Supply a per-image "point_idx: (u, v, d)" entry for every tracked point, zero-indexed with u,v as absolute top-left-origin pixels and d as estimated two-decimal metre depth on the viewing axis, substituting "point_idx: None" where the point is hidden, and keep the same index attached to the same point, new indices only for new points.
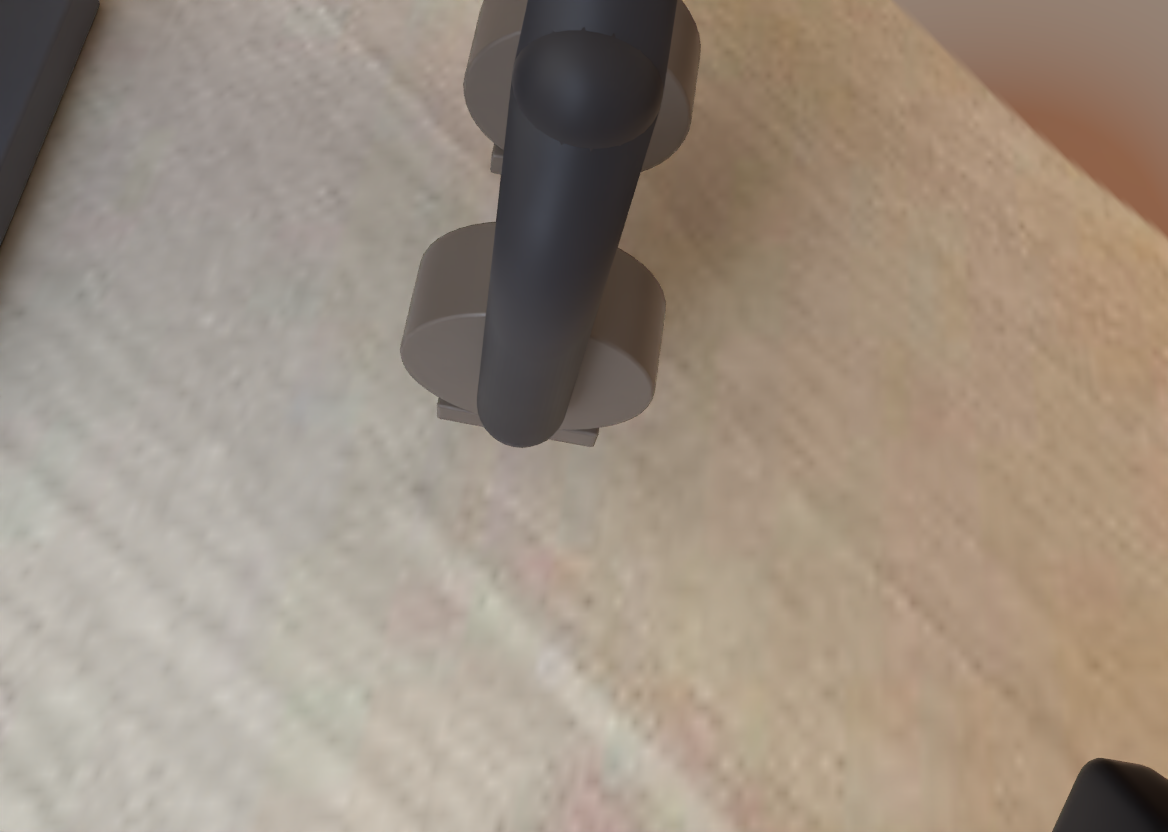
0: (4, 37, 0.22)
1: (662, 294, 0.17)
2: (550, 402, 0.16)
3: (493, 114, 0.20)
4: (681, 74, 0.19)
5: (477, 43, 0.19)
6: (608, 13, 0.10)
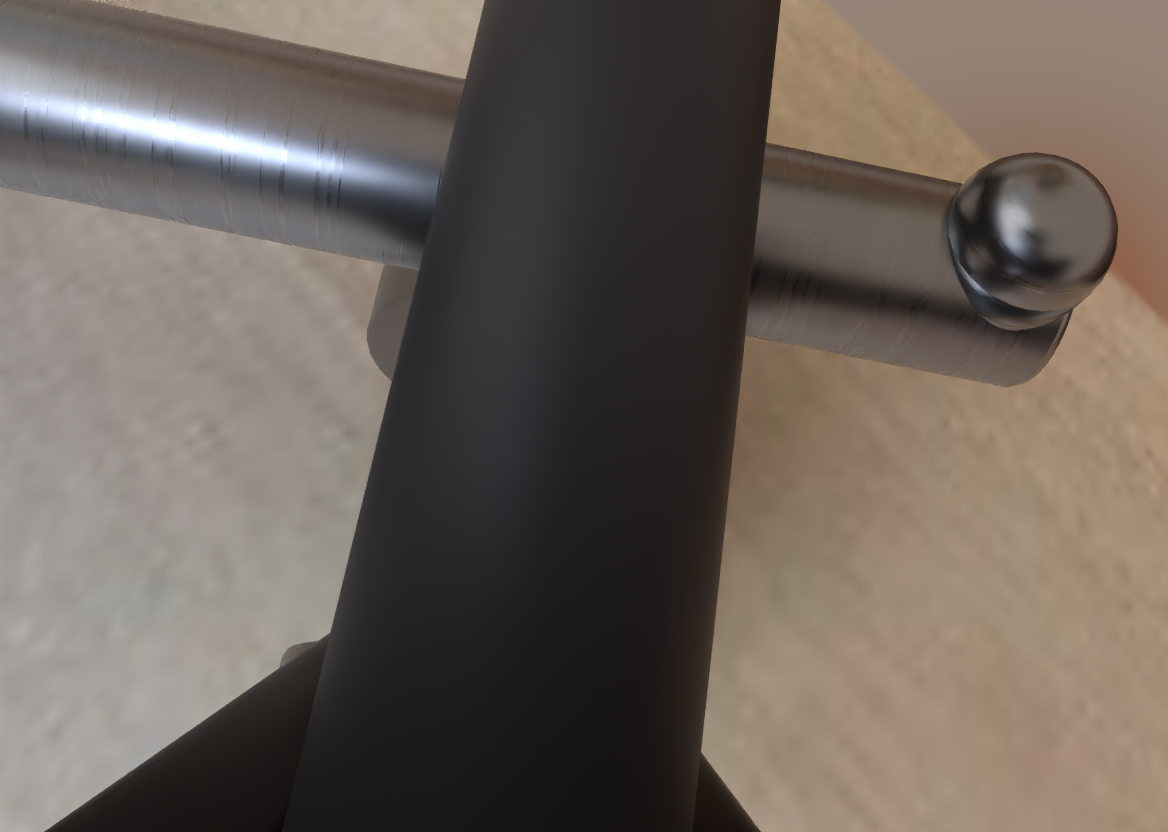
0: None
1: None
2: None
3: None
4: None
5: (384, 289, 0.12)
6: None
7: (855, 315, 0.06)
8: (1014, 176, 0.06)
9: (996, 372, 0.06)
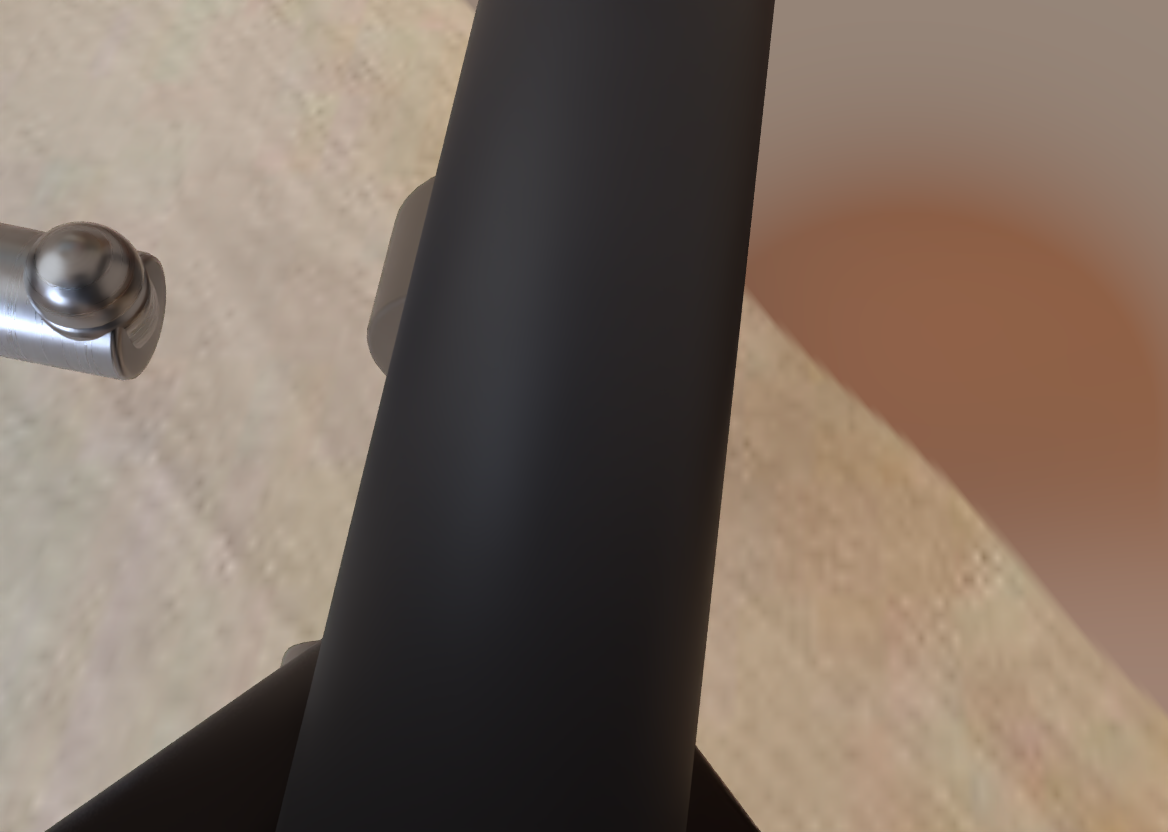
0: None
1: None
2: None
3: None
4: None
5: (383, 289, 0.12)
6: None
7: None
8: (46, 238, 0.09)
9: (93, 370, 0.09)
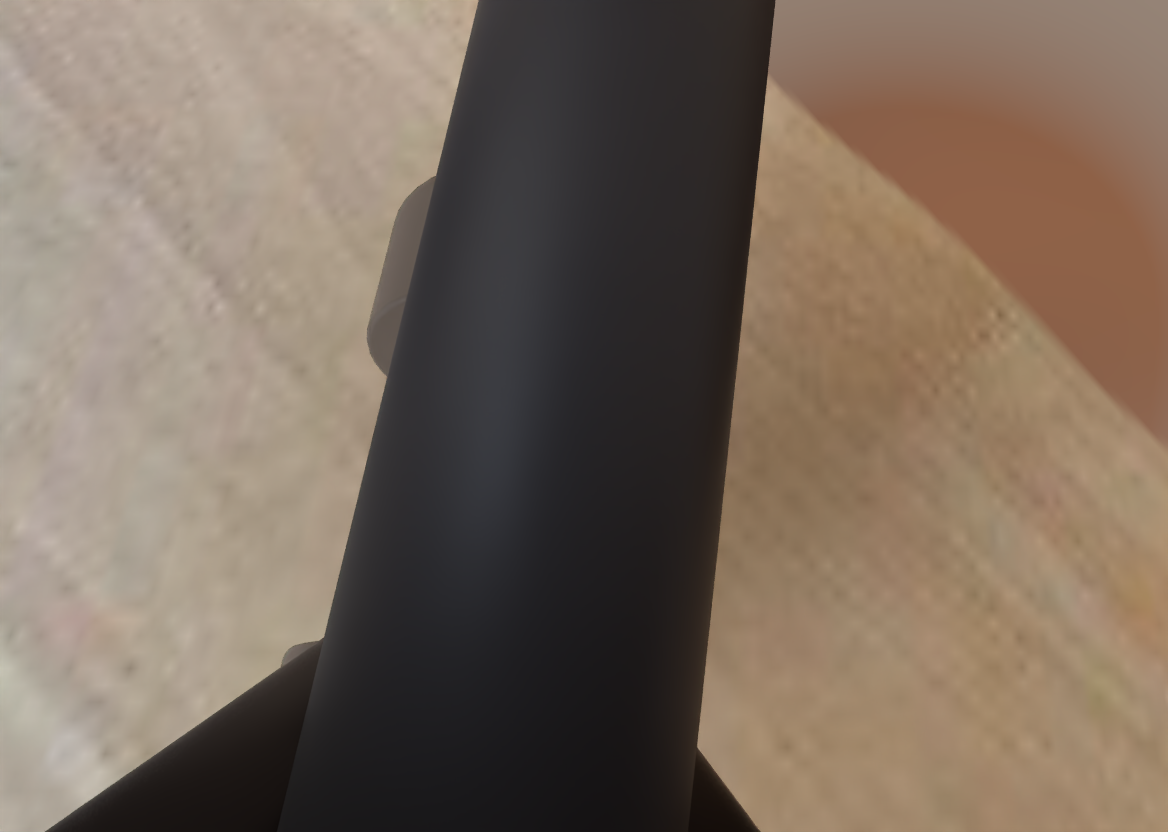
0: None
1: None
2: None
3: None
4: None
5: (383, 289, 0.12)
6: None
7: None
8: None
9: None
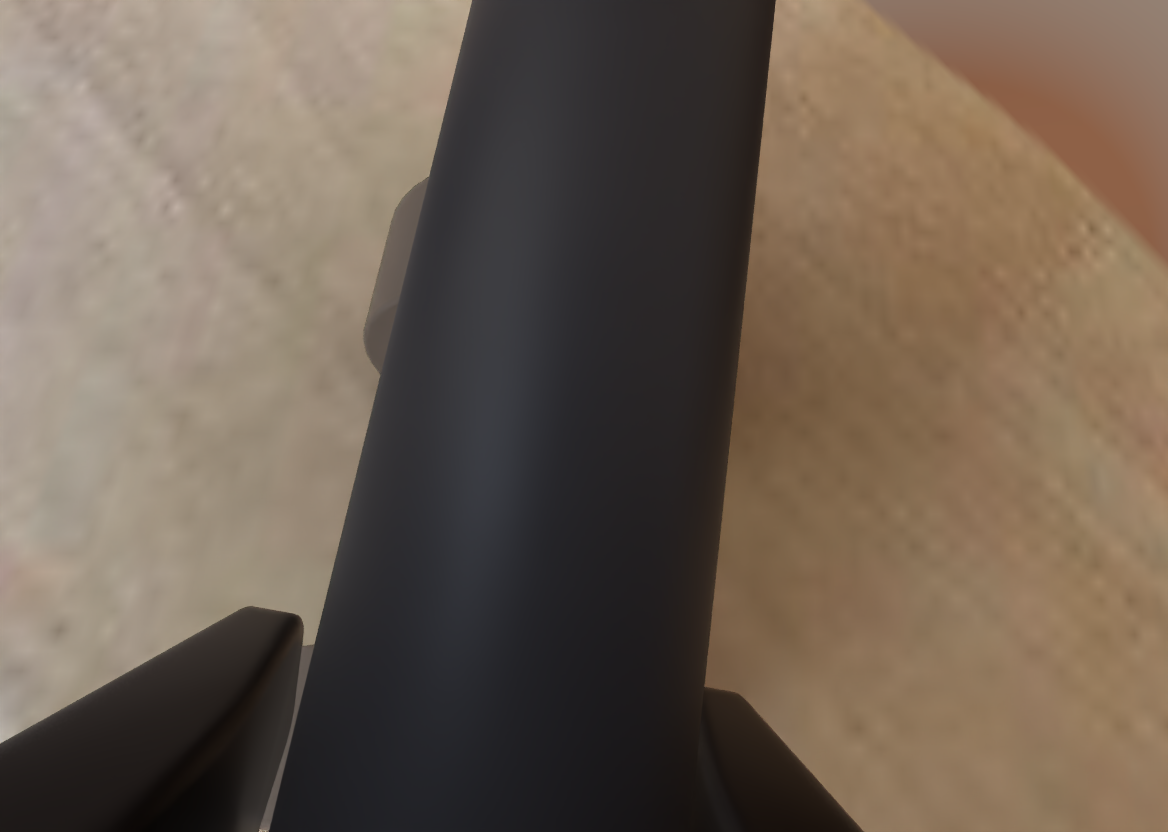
0: None
1: None
2: None
3: None
4: None
5: (379, 289, 0.12)
6: None
7: None
8: None
9: None
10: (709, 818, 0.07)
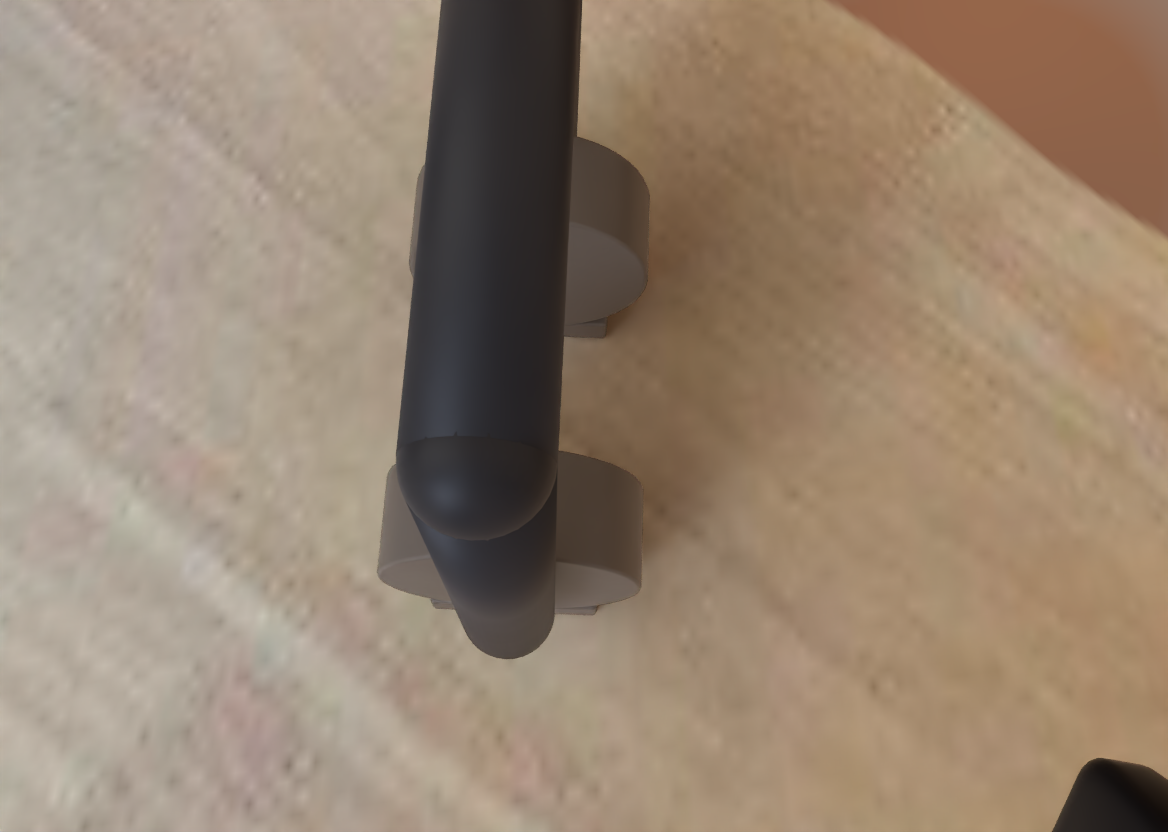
0: None
1: (635, 482, 0.17)
2: (528, 636, 0.15)
3: None
4: (628, 236, 0.18)
5: (415, 232, 0.18)
6: (479, 409, 0.09)
7: None
8: None
9: None
10: None
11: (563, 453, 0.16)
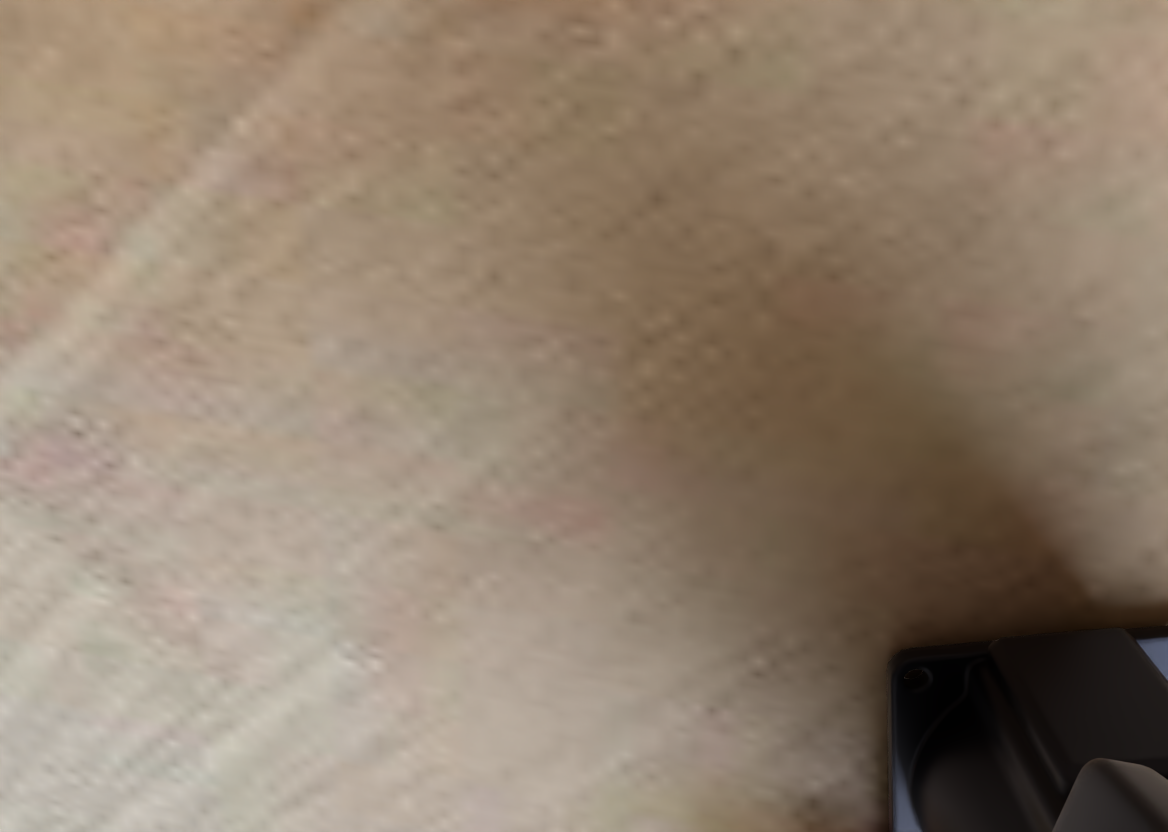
0: None
1: None
2: None
3: None
4: None
5: None
6: None
7: None
8: None
9: None
10: None
11: None
